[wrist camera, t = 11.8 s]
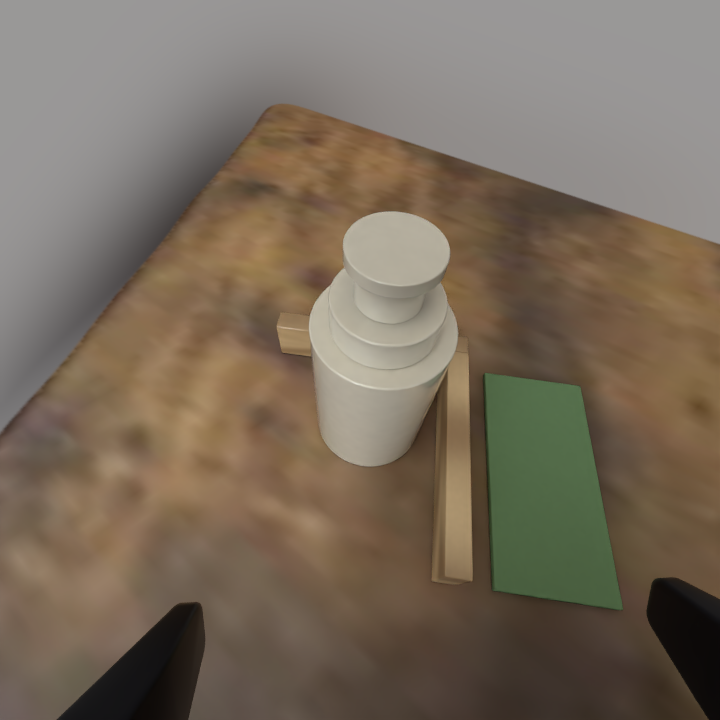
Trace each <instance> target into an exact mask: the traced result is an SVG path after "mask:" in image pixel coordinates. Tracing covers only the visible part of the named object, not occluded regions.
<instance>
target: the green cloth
mask: <svg viewBox="0 0 720 720" xmlns="http://www.w3.org/2000/svg"><path fill="white" fill-rule="evenodd" d="M483 383H484V407H485V431H486V455H487V479H488V503H489V527H490V551H491V575H492V590H493V591H498V592H504V593H511V594H517V595H524V596H530V597H537V598H543V599H550V600H556V601H562V602H569V603H575V604H582V605H588V606H595V607H601V608H608V609H614V610H623V606H622V601H621V596H620V590H619V585H618V580H617V575H616V570H615V564H614V559H613V554H612V549H611V544H610V538H609V533H608V528H607V523H606V518H605V512H604V507H603V502H602V497H601V492H600V486H599V481H598V476H597V471H596V466H595V460H594V455H593V450H592V445H591V440H590V434H589V429H588V424H587V419H586V414H585V408H584V403H583V398H582V393H581V388H580V386H576V385H568V384H561V383H554V382H547V381H540V380H532V379H525V378H518V377H511V376H504V375H496V374H489V373H485V374H484V375H483Z"/></svg>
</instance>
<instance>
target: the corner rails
mask: <svg viewBox="0 0 720 720" xmlns="http://www.w3.org/2000/svg"><path fill="white" fill-rule="evenodd" d="M309 318H310V316H309V315H302V314H295V313H287V312H281V314H280V317H279V320H278V323H277V331H278V336H279V341H280V345H281V350H282V352H283V353H289V354H296V355H303V356H310V357H311V348H310V338H309ZM432 581H433V582H440V583H446V584H453V585H457V584H462V583H466V582H471V581H473V561H472V508H471V456H470V403H469V354H468V337H463V336H458V344H457V348H456V351H455V353H454V356H453V358H452V360H451V362H450V365H449V367H448V369H447V371H446V373H445V376H444V378H443V380H442V382H441V384H440V386H439V389H438V391H437V419H436V451H435V484H434V517H433V550H432Z"/></svg>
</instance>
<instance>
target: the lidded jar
mask: <svg viewBox="0 0 720 720" xmlns="http://www.w3.org/2000/svg"><path fill="white" fill-rule="evenodd" d="M449 260H450V247H449V243H448V241H447V239H446V237H445V236H444V234H443V233H442V232H441V231H440V230H439V229H438V228H437V227H436V226H435V225H433V224H432V223H431V222H429V221H427V220H425V219H423V218H421V217H418V216H416V215H412V214H409V213H403V212H379V213H374V214H371V215H368V216H365V217H363V218H361V219H359V220H358V221H356V222H355V223H354V224H353V225H352V226H351V227H350V228H349V229H348V231H347V232H346V234H345V237H344V240H343V264H344V267H345V268H343V269H342V270H341V271H340V272H339V273H338V274H337V276H336V277H335V278H334V280H333V282H332V284H331V285H330V286H329V287H328V288H327V289H326V290H325V291H324V292H323V293H322V294H321V295H320V296H319V298H318V299H317V300H316V302H315V304H314V306H313V308H312V311H311V314H310V318H309V338H310V348H311V358H312V368H313V378H314V388H315V398H316V408H317V418H318V426H319V430H320V433H321V436H322V438H323V440H324V441H325V443H326V445H327V446H328V447H329V448H330V449H331V451H333V452H334V453H335V454H336V455H337V456H339V457H340V458H342V459H343V460H345V461H347V462H350V463H353V464H355V465H360V466H369V467H370V466H380V465H385V464H388V463H391V462H393V461H395V460H397V459H398V458H400V457H401V456H403V455H404V454H405V453H406V452H407V451H408V450H409V449H410V447H411V446H412V444H413V443H414V441H415V439H416V437H417V435H418V432H419V430H420V428H421V426H422V424H423V421H424V419H425V417H426V415H427V413H428V411H429V408H430V406H431V404H432V402H433V400H434V397H435V395H436V393H437V391H438V389H439V386H440V384H441V382H442V380H443V378H444V376H445V373H446V371H447V369H448V367H449V365H450V362H451V360H452V358H453V356H454V353H455V351H456V348H457V344H458V326H457V322H456V318H455V316H454V314H453V311H452V309H451V308H450V306H449V304H448V302H447V297H446V293H445V290H444V288H443V286H442V285H441V283H440V282H441V280H442V279H443V277H444V275H445V272H446V269H447V266H448V263H449Z"/></svg>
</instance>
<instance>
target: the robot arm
mask: <svg viewBox="0 0 720 720" xmlns="http://www.w3.org/2000/svg"><path fill="white" fill-rule="evenodd" d="M647 618H648V621H649V623H650V626H651V627H652V629H653V631H654V632H655V634H656V636H657V637H658V639H659V640H660V642H661V644H662V645H663V647H664V649H665V650H666V652H667V653H668V655H669V657H670V658H671V660H672V662H673V663H674V665H675V666H676V668H677V670H678V671H679V673H680V675H681V676H682V678H683V679H684V681H685V683H686V684H687V686H688V688H689V689H690V691H691V692H692V694H693V696H694V697H695V699H696V701H697V702H698V704H699V705H700V707H701V708H702V710H703V711H704V713H705V715H706V716H707V717H708V719H709V720H720V599H718V598H716V597H714V596H712V595H710V594H708V593H706V592H704V591H702V590H700V589H698V588H696V587H694V586H692V585H690V584H688V583H686V582H684V581H682V580H680V579H678V578H673V577H669V578H657V579H655V580H654V581H653V582H652V585H651V590H650V595H649V600H648V605H647ZM204 648H205V630H204V620H203V611H202V606H201V604H200V603H198V602H188V603H179V604H177V605H176V606H174V607H173V608H172V609H171V610H170V611H169V612H168V613H167V614H166V615H165V616H164V617H163V618H162V619H161V620H160V621H159V622H158V623H157V624H156V625H155V626H154V627H153V628H151V629H150V630H149V631H148V632H147V633H146V634H145V635H144V636H143V637H142V638H141V639H140V640H139V641H138V642H137V643H136V644H135V645H134V646H133V647H132V648H131V649H130V650H129V651H128V652H127V653H126V654H124V655H123V656H122V657H121V658H120V659H119V660H118V661H117V662H116V663H115V664H114V665H113V666H112V667H111V668H110V669H109V670H108V671H107V672H106V673H105V674H104V675H103V676H102V677H101V678H100V679H98V680H97V681H96V682H95V683H94V684H93V685H92V686H91V687H90V688H89V689H88V690H87V691H86V692H85V693H84V694H83V695H82V696H81V697H80V698H79V699H78V700H77V701H76V702H75V703H74V704H73V705H71V706H70V707H69V708H68V709H67V710H66V711H65V712H64V713H63V714H62V715H61V716H60V717H59V718H58V719H57V720H188V718H189V713H190V709H191V705H192V701H193V696H194V692H195V688H196V683H197V679H198V675H199V671H200V666H201V662H202V658H203V653H204Z"/></svg>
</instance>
